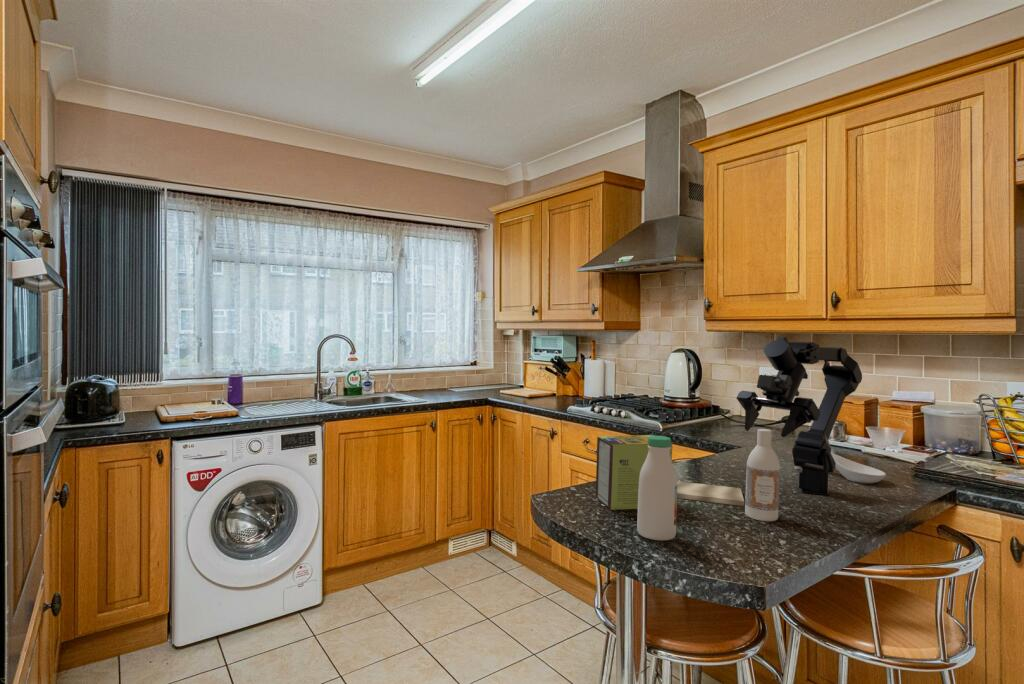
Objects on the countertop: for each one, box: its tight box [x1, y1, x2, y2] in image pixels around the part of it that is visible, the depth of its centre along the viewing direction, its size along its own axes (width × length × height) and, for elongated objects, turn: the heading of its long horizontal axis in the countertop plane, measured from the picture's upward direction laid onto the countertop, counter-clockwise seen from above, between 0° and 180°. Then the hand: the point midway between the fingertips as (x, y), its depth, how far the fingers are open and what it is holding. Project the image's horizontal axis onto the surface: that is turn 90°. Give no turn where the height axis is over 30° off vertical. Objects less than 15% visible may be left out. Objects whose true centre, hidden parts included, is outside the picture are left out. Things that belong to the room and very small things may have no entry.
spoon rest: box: [794, 452, 887, 485], centre depth 164 cm, size 24×12×7 cm, turn 43°
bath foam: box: [744, 428, 781, 522], centre depth 124 cm, size 7×7×20 cm
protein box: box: [595, 434, 673, 511], centre depth 132 cm, size 10×15×16 cm
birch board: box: [677, 480, 745, 507], centre depth 140 cm, size 16×12×1 cm
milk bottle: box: [636, 435, 678, 542], centre depth 111 cm, size 8×8×20 cm
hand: (763, 433), depth 132 cm, fingers open, 9 cm apart
